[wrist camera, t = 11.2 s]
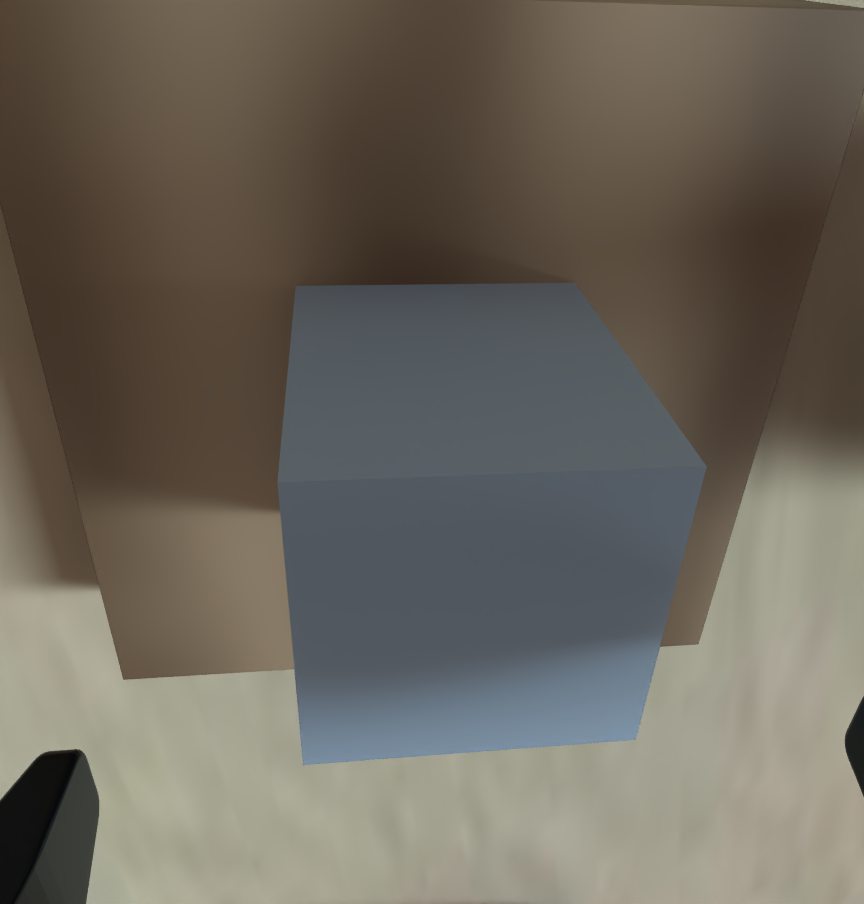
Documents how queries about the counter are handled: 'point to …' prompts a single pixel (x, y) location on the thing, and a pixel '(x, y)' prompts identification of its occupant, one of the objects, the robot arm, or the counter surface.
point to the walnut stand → (390, 240)
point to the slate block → (473, 520)
